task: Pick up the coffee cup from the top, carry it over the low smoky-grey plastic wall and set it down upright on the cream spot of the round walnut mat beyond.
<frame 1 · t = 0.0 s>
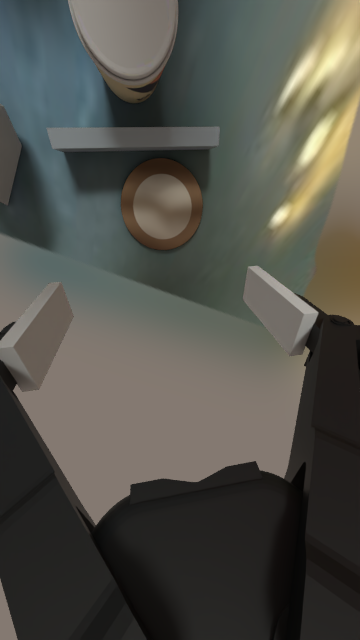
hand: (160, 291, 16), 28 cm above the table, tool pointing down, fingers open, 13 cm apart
walnut mat: (162, 208, 38), on the table
grey wall: (138, 142, 32), on the table
coffee cup: (130, 63, 28), on the table
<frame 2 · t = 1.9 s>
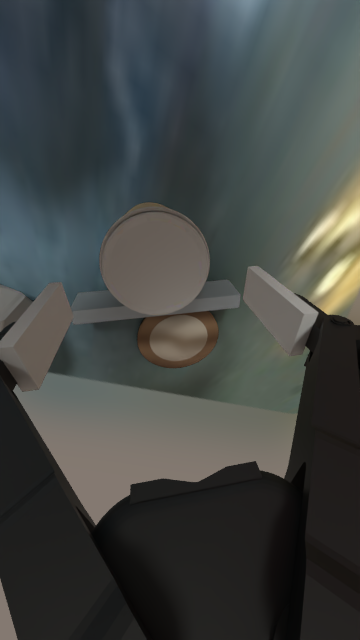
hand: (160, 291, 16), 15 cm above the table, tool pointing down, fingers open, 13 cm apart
walnut mat: (178, 336, 38), on the table
grey wall: (156, 291, 32), on the table
coffee cup: (151, 235, 28), on the table
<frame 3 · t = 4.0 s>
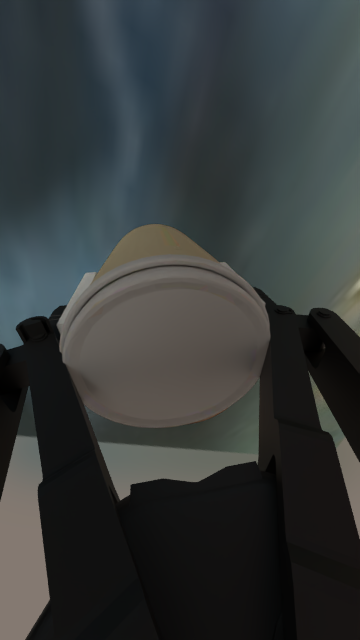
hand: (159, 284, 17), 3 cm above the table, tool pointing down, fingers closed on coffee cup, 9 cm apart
coffee cup: (156, 269, 19), on the table, touching gripper
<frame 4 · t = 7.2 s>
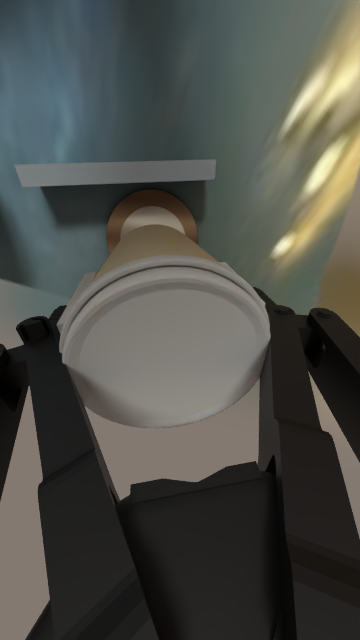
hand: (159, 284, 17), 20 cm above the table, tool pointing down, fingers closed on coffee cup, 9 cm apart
walnut mat: (153, 241, 34), on the table
grey wall: (124, 172, 29), on the table
coffee cup: (156, 269, 19), point 17 cm above the table, touching gripper
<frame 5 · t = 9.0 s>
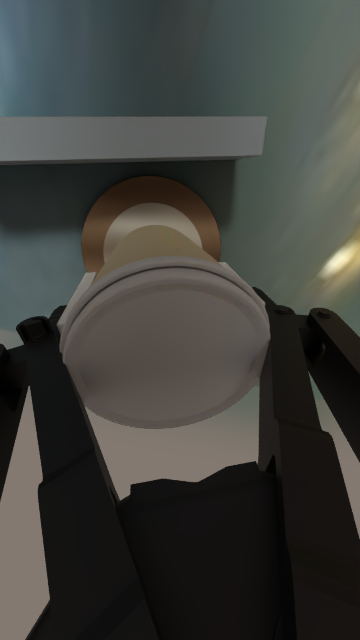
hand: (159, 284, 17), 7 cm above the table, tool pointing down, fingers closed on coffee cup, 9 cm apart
walnut mat: (154, 255, 23), on the table
grey wall: (106, 147, 17), on the table
coffee cup: (156, 269, 19), point 4 cm above the table, touching gripper
when the fingers open (5 cm above the table, at t = 10.4 s): coffee cup stays where it is, resting on walnut mat.
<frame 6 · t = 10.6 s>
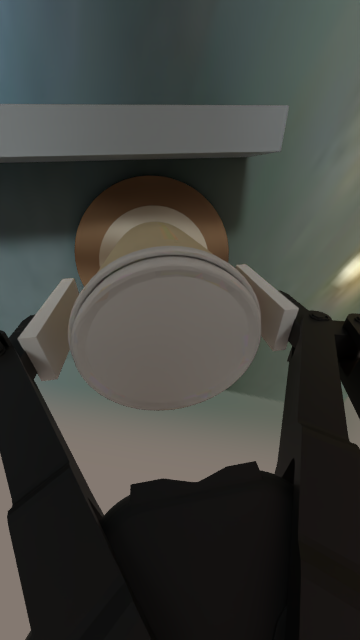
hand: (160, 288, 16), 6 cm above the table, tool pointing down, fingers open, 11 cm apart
walnut mat: (155, 262, 21), on the table
grey wall: (102, 143, 15), on the table
coffee cup: (156, 265, 20), point 1 cm above the table, touching walnut mat
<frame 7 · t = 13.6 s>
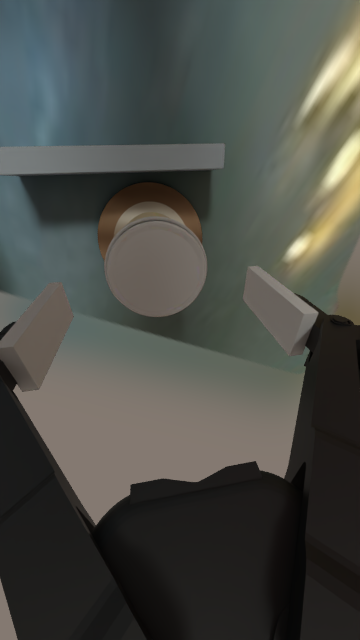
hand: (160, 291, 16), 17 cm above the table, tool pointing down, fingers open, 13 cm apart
walnut mat: (151, 241, 30), on the table
grey wall: (117, 162, 25), on the table
coffee cup: (152, 242, 29), point 1 cm above the table, touching walnut mat
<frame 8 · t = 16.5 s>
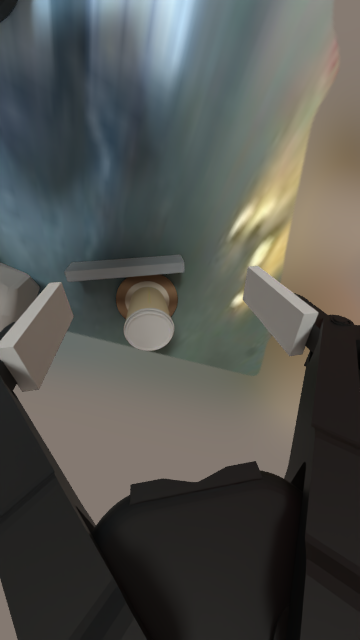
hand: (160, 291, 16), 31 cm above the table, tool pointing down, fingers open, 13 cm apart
walnut mat: (147, 299, 50), on the table
grey wall: (128, 263, 45), on the table
coffee cup: (147, 301, 50), point 1 cm above the table, touching walnut mat
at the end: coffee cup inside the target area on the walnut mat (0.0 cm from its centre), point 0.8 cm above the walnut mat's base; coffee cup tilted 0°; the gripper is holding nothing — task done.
